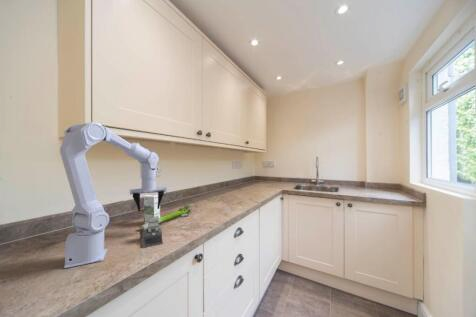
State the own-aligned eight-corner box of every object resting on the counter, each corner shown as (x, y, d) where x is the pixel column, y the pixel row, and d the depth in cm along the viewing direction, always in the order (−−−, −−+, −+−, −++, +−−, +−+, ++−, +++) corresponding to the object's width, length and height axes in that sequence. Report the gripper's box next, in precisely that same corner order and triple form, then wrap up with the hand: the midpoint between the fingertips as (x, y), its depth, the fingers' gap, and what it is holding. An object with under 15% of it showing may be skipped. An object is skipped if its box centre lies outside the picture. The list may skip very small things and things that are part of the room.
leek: (137, 232, 85) (185, 212, 111) (146, 238, 81) (194, 215, 107) (137, 220, 84) (186, 202, 110) (146, 225, 81) (194, 205, 106)
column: (148, 238, 72) (148, 219, 72) (147, 235, 75) (148, 217, 76) (158, 236, 74) (158, 218, 74) (157, 233, 77) (158, 215, 77)
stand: (142, 248, 67) (142, 236, 67) (142, 232, 82) (142, 222, 82) (162, 243, 70) (162, 233, 70) (159, 229, 85) (159, 220, 85)
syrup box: (160, 221, 96) (160, 193, 96) (154, 225, 90) (154, 196, 90) (150, 221, 96) (150, 193, 97) (143, 225, 91) (143, 195, 91)
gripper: (166, 177, 87) (166, 205, 87) (131, 178, 82) (131, 208, 82) (166, 178, 81) (166, 209, 81) (128, 180, 75) (129, 213, 75)
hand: (149, 209), depth 81 cm, fingers open, 7 cm apart
